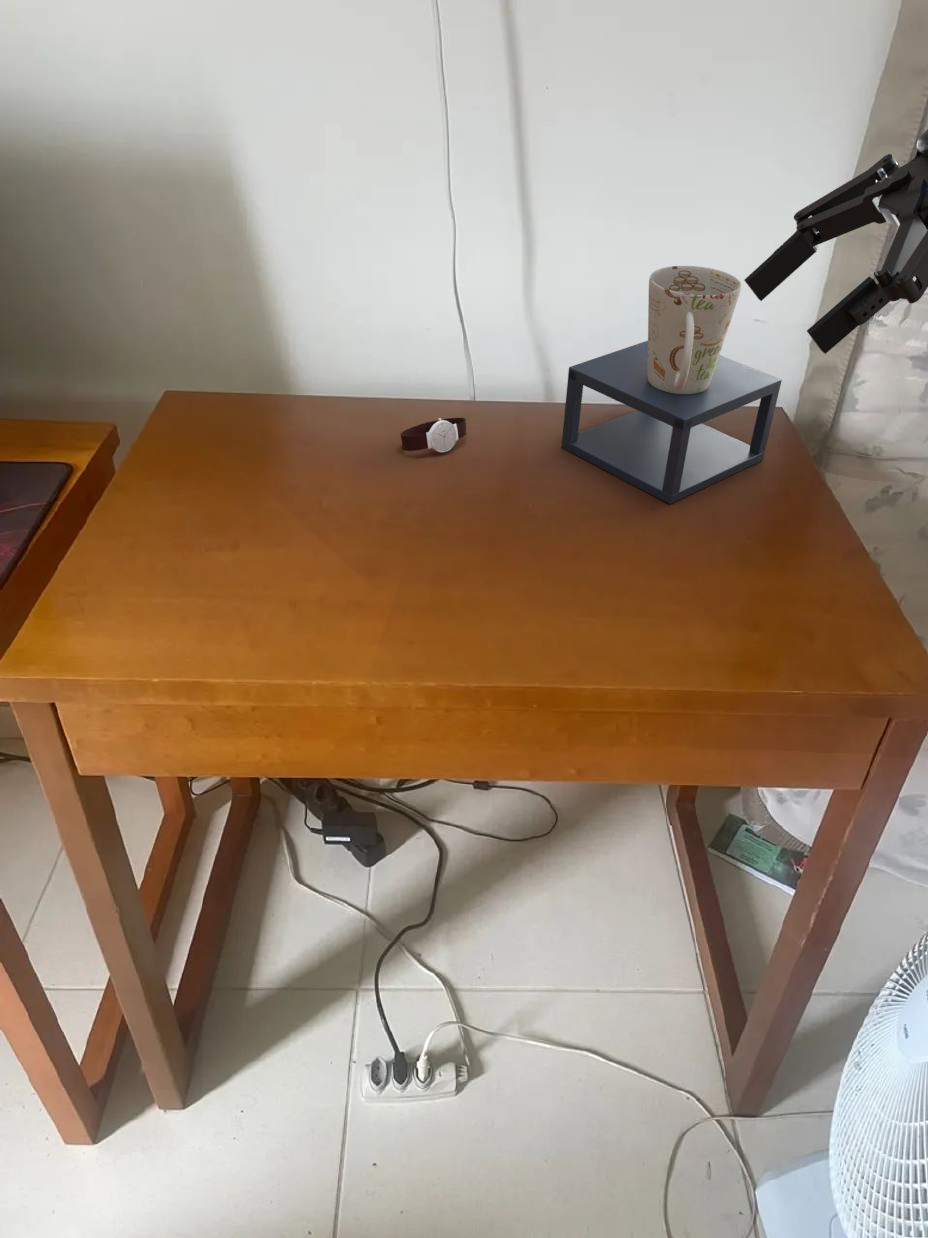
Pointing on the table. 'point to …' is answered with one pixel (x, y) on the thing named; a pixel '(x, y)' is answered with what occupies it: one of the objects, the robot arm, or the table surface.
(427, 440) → the watch
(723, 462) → the shelf
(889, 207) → the robot arm
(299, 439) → the table surface
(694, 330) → the mug
